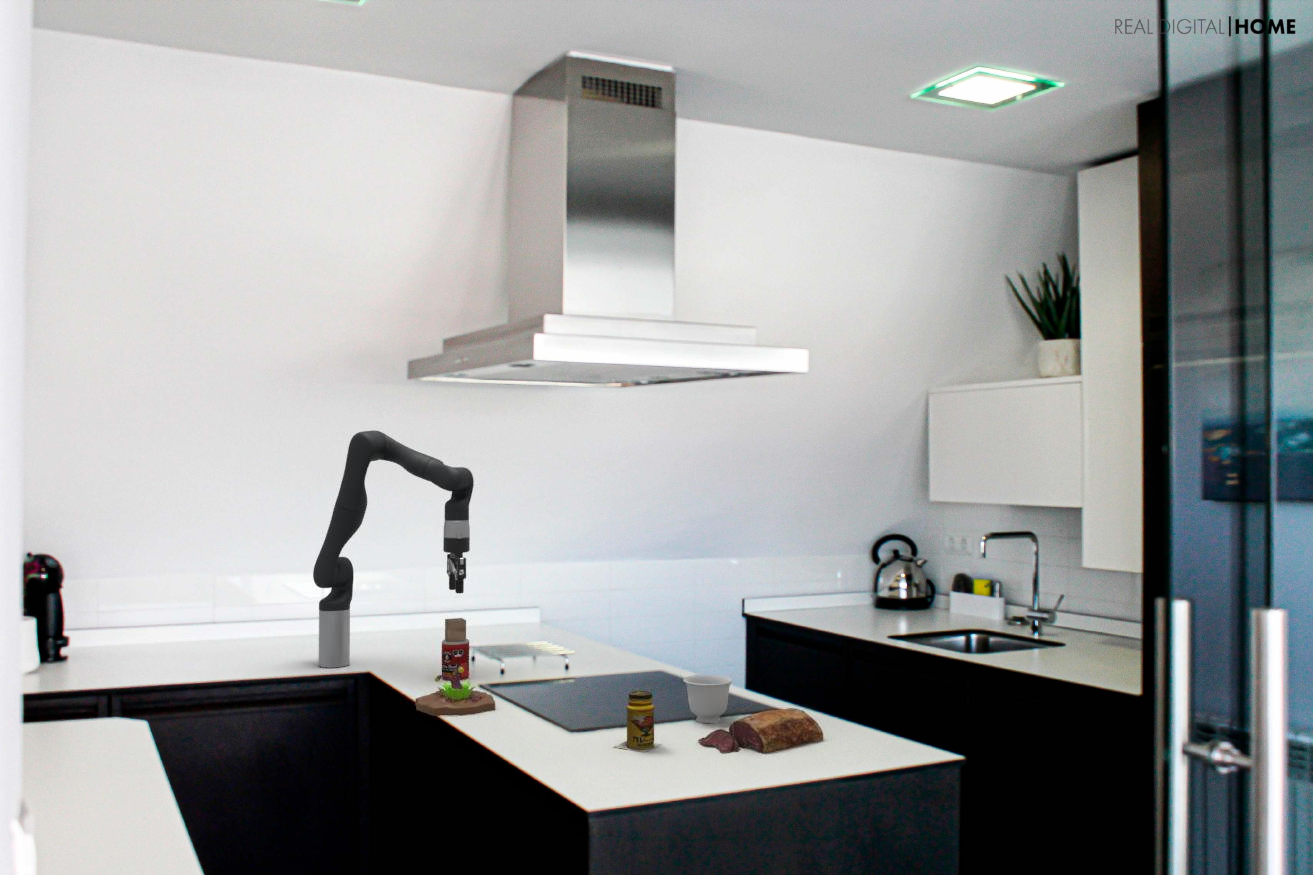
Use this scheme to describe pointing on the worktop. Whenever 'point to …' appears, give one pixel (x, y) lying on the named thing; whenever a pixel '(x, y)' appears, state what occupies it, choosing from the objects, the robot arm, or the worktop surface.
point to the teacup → (708, 696)
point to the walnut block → (455, 630)
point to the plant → (455, 698)
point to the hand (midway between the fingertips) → (456, 591)
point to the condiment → (640, 722)
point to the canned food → (455, 658)
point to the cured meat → (767, 732)
